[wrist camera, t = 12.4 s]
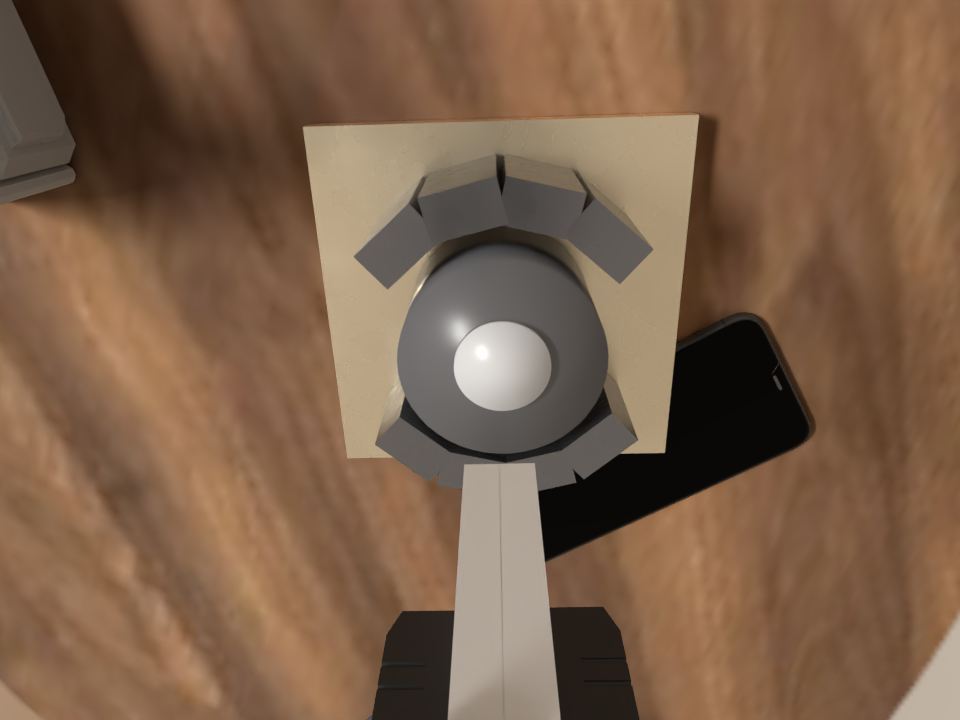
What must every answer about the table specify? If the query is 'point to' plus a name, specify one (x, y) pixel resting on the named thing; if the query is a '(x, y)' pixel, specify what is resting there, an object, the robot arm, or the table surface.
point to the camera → (28, 118)
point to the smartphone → (689, 436)
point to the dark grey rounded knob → (502, 342)
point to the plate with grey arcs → (517, 204)
